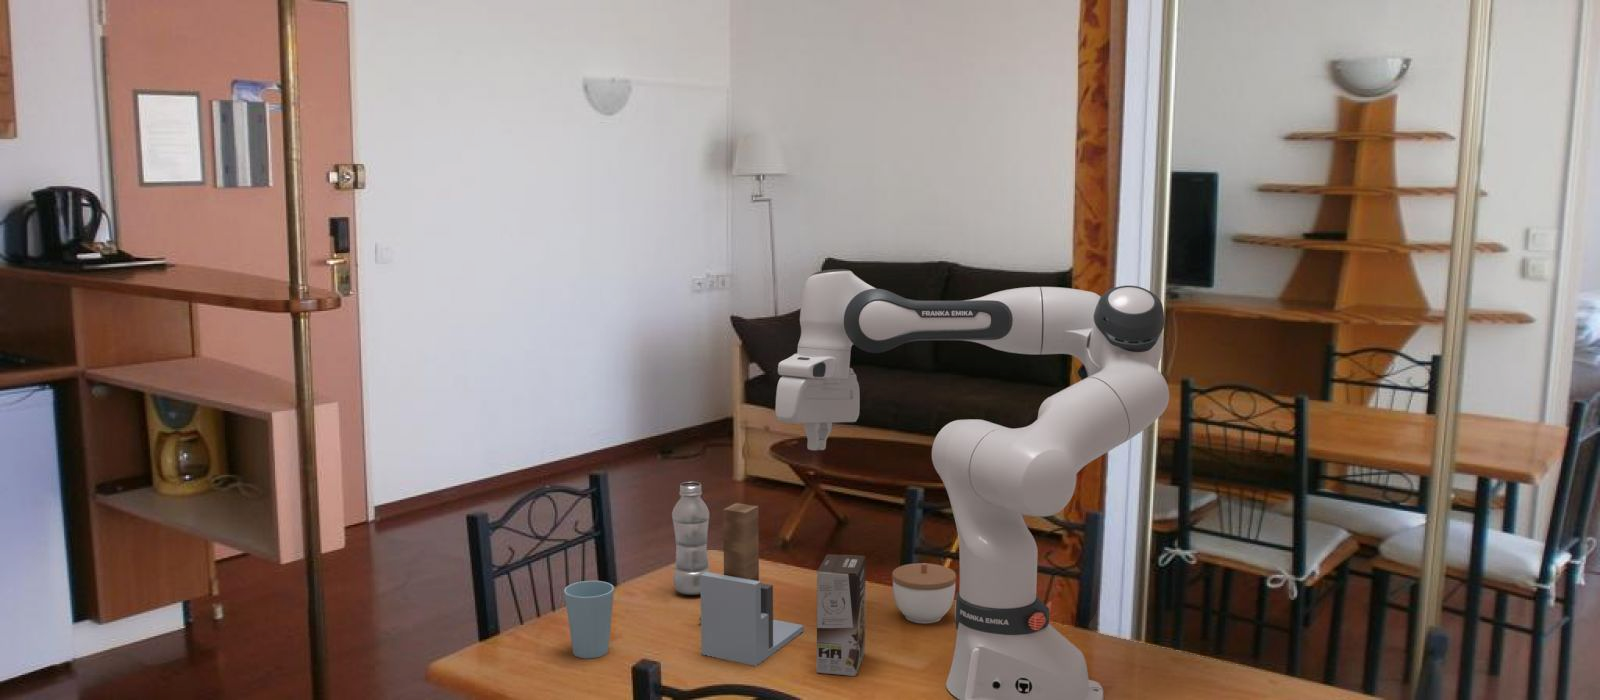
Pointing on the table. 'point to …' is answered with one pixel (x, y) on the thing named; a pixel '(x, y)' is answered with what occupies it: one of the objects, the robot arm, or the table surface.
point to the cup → (589, 617)
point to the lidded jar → (923, 591)
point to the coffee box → (840, 614)
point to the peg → (741, 541)
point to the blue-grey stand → (740, 620)
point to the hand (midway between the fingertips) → (816, 449)
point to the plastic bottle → (690, 539)
